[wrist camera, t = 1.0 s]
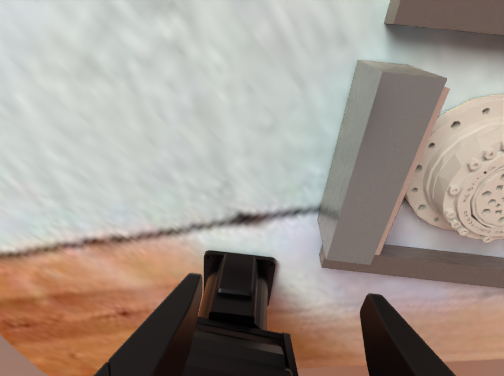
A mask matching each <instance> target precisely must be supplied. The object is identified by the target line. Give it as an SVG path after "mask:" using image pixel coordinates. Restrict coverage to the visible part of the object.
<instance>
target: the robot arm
mask: <svg viewBox="0 0 504 376" xmlns="http://www.w3.org/2000/svg"><path fill="white" fill-rule="evenodd" d="M210 256H211V257H210ZM275 266H276V261H275V259H274V258H271V257H263V256H255V255H246V254H237V253H228V252H219V251H211V250H210V251H206V252H205V255H204V295H203V299H202V302H201V298H202V275H201V274H196V273H189V274H188V275H187V276H186V277H185V278H184V279H183V280H182V281H181V283H180V284H179V285H178V286H177V287H176V288H175V289H174V290H173V291H172V292H171V293H170V294H169V295H168V296H167V298H166V299H165V300H164V301H163V302H162V303H161V304H160V305H159V306H158V307H157V308H156V309H155V310H154V312H153V313H152V314H151V315H150V316H149V317H148V318H147V319H146V320H145V321H144V322H143V323H142V324H141V325H140V327H139V328H138V329H137V330H136V331H135V332H134V333H133V334H132V335H131V336H130V337H129V338H128V339H127V340H126V342H125V343H124V344H123V345H122V346H121V347H120V348H119V349H118V350H117V351H116V352H115V353H114V354H113V355H112V357H111V358H110V359H109V360H108V361H109V363H108V362H106V363H105V364H104V365H103V366H102V367H101V368H100V369H99V370H98V371H97V373H96V374H95V375H94V376H298V372H297V367H296V362H295V357H294V353H293V348H292V343H291V338H290V334H288V333H277V332H272V331H267V306H268V305H269V300H270V294H271V288H272V283H273V277H274V272H275ZM200 303H201V306H200ZM199 308H200V310H199ZM198 312H199V314H198ZM360 319H361V326H362V333H363V341H364V348H365V355H366V361H367V367H368V371H369V376H456V375H455V374H454V373H453V372H452V371H451V370H450V369H449V368H448V367H447V366H446V365H445V363H444V362H443V361H442V360H441V359H440V358H439V357H438V356H437V355H436V354H435V353H434V351H433V350H432V349H431V348H430V347H429V346H428V345H427V344H426V343H425V342H424V341H423V339H422V338H421V337H420V336H419V335H418V334H417V333H416V332H415V331H414V330H413V329H412V327H411V326H410V325H409V324H408V323H407V322H406V321H405V320H404V319H403V318H402V317H401V316H400V314H399V313H398V312H397V311H396V310H395V309H394V308H393V307H392V306H391V305H390V304H389V302H388V301H387V300H386V299H385V298H384V297H383V296H382V295H379V294H371V293H370V294H368V295H367V296H366V298H365V300H364V303H363V305H362V307H361V310H360Z"/></svg>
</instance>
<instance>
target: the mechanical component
mask: <svg viewBox="0 0 504 376" xmlns="http://www.w3.org/2000/svg"><path fill="white" fill-rule="evenodd" d="M404 197H405V198H406V200H407V201H408V203H409V204H410V206H411V207H412V208H413V210H414V211H415V213H416V214H417V216H419V217H420V218H422V219H423V220H425V221H426V222H428V223H429V224H431V225H434V226H437V227H440V228H443V229H446V230H456V231H457V233H458V234H459V235H462V236H467V237H470V238H474V239H479V240H482V241H483V242H485V243H489V242H491V241H492V240H498V239H504V94H495V95H490V96H485V97H480V98H475V99H471V100H469V101H467V102H465V103H463V104H461V105H459V106H457V107H455V108H453V109H451V110H449V111H447V112H445V113H444V114H442V115H441V116H440V117H438V118H437V121H436V123H435V125H434V128H433V130H432V132H431V135H430V137H429V139H428V142H427V144H426V146H425V149H424V151H423V153H422V156H421V158H420V161H419V163H418V165H417V168H416V170H415V172H414V175H413V177H412V179H411V182H410V184H409V186H408V189H407V191H406V193H405V196H404Z"/></svg>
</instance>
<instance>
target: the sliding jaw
mask: <svg viewBox="0 0 504 376" xmlns="http://www.w3.org/2000/svg"><path fill="white" fill-rule="evenodd" d="M446 81H447V78H444V77H442V76H439V75H436V74H433V73H430V72H427V71H424V70H421V69H418V68H415V67H412V66H409V65H403V64H394V63H384V62H374V61H365V60H358V61H357V65H356V69H355V73H354V77H353V81H352V85H351V89H350V93H349V97H348V101H347V105H346V109H345V113H344V117H343V121H342V124H341V128H340V132H339V136H338V140H337V144H336V148H335V152H334V156H333V160H332V164H331V168H330V172H329V176H328V180H327V184H326V188H325V191H324V195H323V199H322V203H321V207H320V211H319V215H318V224H319V229H320V233H321V238H322V243H323V247H324V252H325V257H326V260H332V261H341V262H349V263H358V264H367V265H371V262H372V260H373V257H374V255H380V252H381V250H382V248H383V245H384V243H385V241H386V238H387V236H388V233H389V231H390V229H391V226H392V224H393V222H394V219H395V217H396V215H397V212H398V210H399V208H400V205H401V203H402V201H403V198H404V196H405V193H406V191H407V189H408V186H409V184H410V182H411V179H412V177H413V175H414V172H415V170H416V168H417V165H418V163H419V161H420V158H421V156H422V153H423V151H424V149H425V146H426V144H427V142H428V139H429V137H430V135H431V132H432V130H433V128H434V125H435V123H436V121H437V118H438V116H439V113H440V111H441V109H442V106H443V104H444V102H445V99H446V97H447V95H448V92H449V90H450V89H449V88H447V87H444V85H445V83H446Z"/></svg>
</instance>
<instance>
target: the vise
mask: <svg viewBox="0 0 504 376" xmlns="http://www.w3.org/2000/svg"><path fill="white" fill-rule="evenodd" d="M384 23H386V24H396V25H406V26H415V27H425V28H435V29H445V30H455V31H465V32H475V33H485V34H495V35H504V0H390V4H389V8H388V11H387V15H386V18H385V22H384ZM319 256H320V262H321V267H322V268H330V269H339V270H348V271H357V272H366V273H374V274H383V275H392V276H401V277H409V278H418V279H427V280H436V281H445V282H453V283H462V284H471V285H480V286H488V287H497V288H504V258H499V257H491V256H482V255H473V254H464V253H455V252H446V251H437V250H428V249H419V248H410V247H402V246H393V245H383V248H382V250H381V252H380V255H374V257H373V260H372V262H371V265H367V264H358V263H349V262H341V261H332V260H326V257H325V252H324V247H323V243H322V247H321V251H320V254H319Z"/></svg>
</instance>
